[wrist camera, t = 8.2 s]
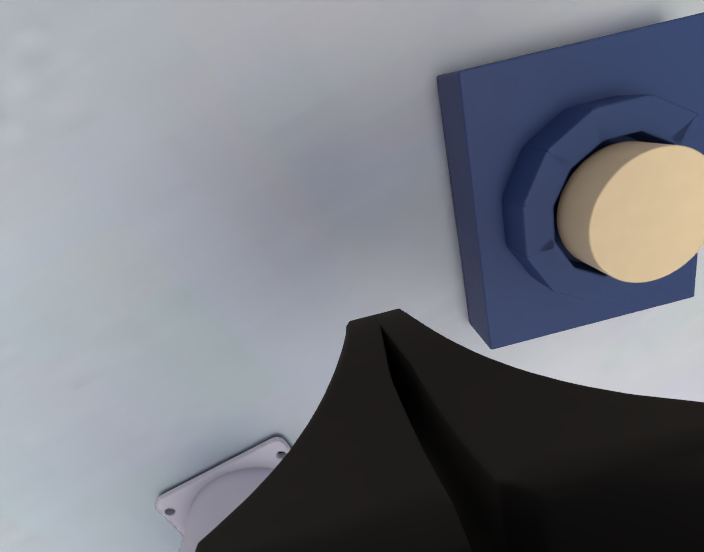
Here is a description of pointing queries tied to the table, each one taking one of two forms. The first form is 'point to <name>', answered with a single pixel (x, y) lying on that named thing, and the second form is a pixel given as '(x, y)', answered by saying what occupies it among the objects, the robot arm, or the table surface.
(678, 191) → the disc
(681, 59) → the button base
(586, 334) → the table surface
